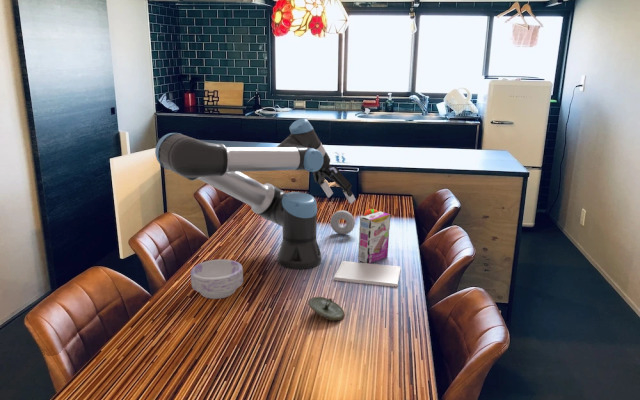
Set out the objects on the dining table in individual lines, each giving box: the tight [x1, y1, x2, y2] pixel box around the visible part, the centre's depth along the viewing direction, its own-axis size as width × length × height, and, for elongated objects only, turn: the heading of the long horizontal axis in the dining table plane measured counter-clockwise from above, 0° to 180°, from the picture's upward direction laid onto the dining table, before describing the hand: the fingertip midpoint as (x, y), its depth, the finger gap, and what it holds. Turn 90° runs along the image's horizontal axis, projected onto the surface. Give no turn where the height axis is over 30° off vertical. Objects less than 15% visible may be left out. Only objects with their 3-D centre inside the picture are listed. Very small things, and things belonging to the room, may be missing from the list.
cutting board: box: [333, 260, 402, 288], centre depth 166 cm, size 14×20×1 cm
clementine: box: [363, 208, 379, 216], centre depth 215 cm, size 8×7×7 cm
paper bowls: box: [190, 258, 244, 300], centre depth 151 cm, size 15×15×8 cm
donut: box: [329, 210, 356, 235], centre depth 203 cm, size 10×4×10 cm, turn 76°
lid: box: [308, 296, 345, 322], centre depth 139 cm, size 11×10×5 cm
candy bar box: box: [357, 211, 391, 264], centre depth 176 cm, size 11×5×16 cm, turn 134°
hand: (341, 198), depth 199 cm, fingers open, 13 cm apart
